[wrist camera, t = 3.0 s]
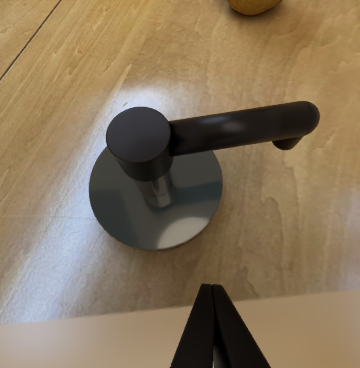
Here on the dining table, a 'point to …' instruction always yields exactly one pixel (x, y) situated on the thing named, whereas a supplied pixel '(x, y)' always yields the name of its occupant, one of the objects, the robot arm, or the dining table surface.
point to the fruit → (252, 6)
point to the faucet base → (156, 201)
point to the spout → (201, 134)
